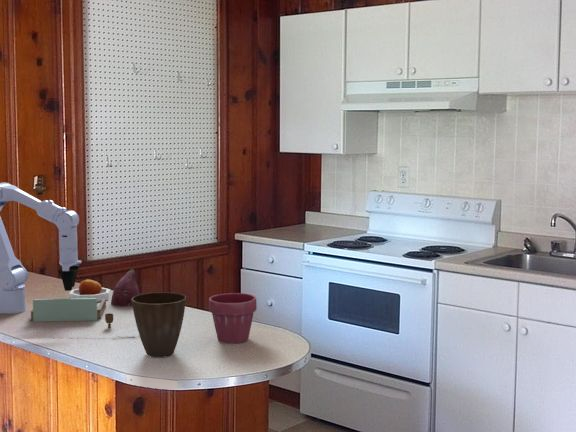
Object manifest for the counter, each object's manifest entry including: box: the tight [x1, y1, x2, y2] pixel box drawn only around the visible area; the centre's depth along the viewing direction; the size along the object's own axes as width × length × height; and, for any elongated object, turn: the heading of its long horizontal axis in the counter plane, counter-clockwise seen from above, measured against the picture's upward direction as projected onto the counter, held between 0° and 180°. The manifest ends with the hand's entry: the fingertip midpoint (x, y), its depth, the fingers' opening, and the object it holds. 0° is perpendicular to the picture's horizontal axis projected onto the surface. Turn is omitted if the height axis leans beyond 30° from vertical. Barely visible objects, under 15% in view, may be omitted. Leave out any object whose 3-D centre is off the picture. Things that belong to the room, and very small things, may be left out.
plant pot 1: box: [132, 291, 187, 358], centre depth 219 cm, size 15×15×16 cm
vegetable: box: [110, 268, 141, 307], centre depth 275 cm, size 10×10×15 cm
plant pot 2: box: [208, 292, 258, 344], centre depth 233 cm, size 14×14×13 cm
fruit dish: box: [68, 287, 111, 303], centre depth 287 cm, size 14×14×2 cm
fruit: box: [78, 278, 103, 295], centre depth 287 cm, size 8×8×8 cm
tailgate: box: [32, 298, 98, 323], centre depth 250 cm, size 20×1×7 cm, turn 97°
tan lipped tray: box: [30, 299, 107, 322], centre depth 259 cm, size 22×16×4 cm
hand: (69, 288), depth 259 cm, fingers open, 5 cm apart
